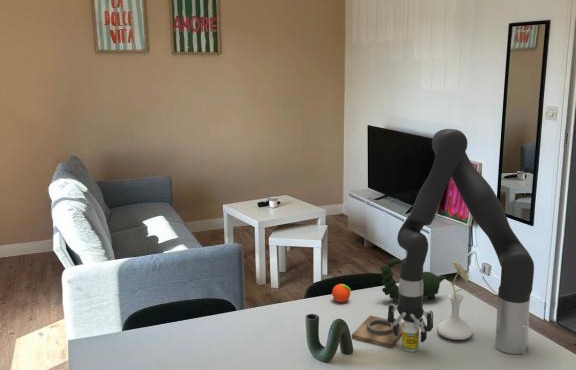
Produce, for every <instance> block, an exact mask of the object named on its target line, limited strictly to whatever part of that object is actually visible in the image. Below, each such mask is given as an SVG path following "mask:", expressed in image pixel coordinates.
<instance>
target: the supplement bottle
mask: <svg viewBox="0 0 576 370" xmlns="http://www.w3.org/2000/svg"><path fill="white" fill-rule="evenodd" d="M403 323H404V325H403V326H402V336H401V348H402V349H403V350H404V351H406V352H411V353H412V352H413V353H414V352H417V350H419V346H420V343H419V342H420V340H419V338H420V328H419V327H418V326H417V325H416V323H415V322H414V323H413V322H410V321H404V320H403Z"/></svg>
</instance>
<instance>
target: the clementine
mask: <svg viewBox="0 0 576 370" xmlns="http://www.w3.org/2000/svg"><path fill="white" fill-rule="evenodd" d="M351 292H352V289H351V288H350V287H349V286H348V285H346V284H344V283H338V284H337V285H334V287H333V288H332V291H331V294H332V297H333V299H334V300H335V301H336V302H338V303H344V302H347V301H348V300H349V298H350V297H351Z"/></svg>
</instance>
